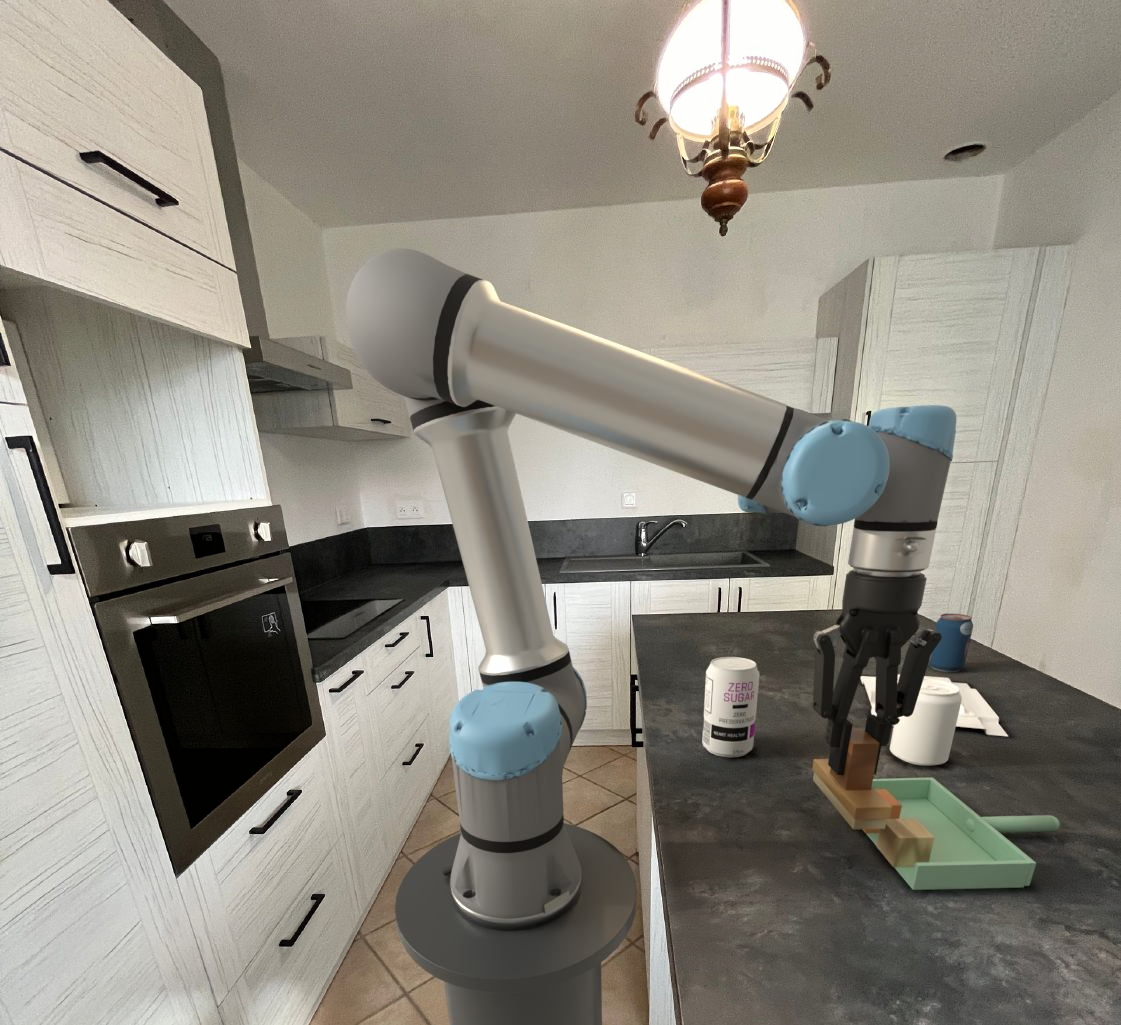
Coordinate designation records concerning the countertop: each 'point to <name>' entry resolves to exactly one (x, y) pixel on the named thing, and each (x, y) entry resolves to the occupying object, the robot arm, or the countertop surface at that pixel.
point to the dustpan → (962, 839)
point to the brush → (855, 784)
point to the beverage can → (928, 725)
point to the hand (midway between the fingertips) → (851, 769)
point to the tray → (971, 708)
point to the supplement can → (730, 706)
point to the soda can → (952, 642)
